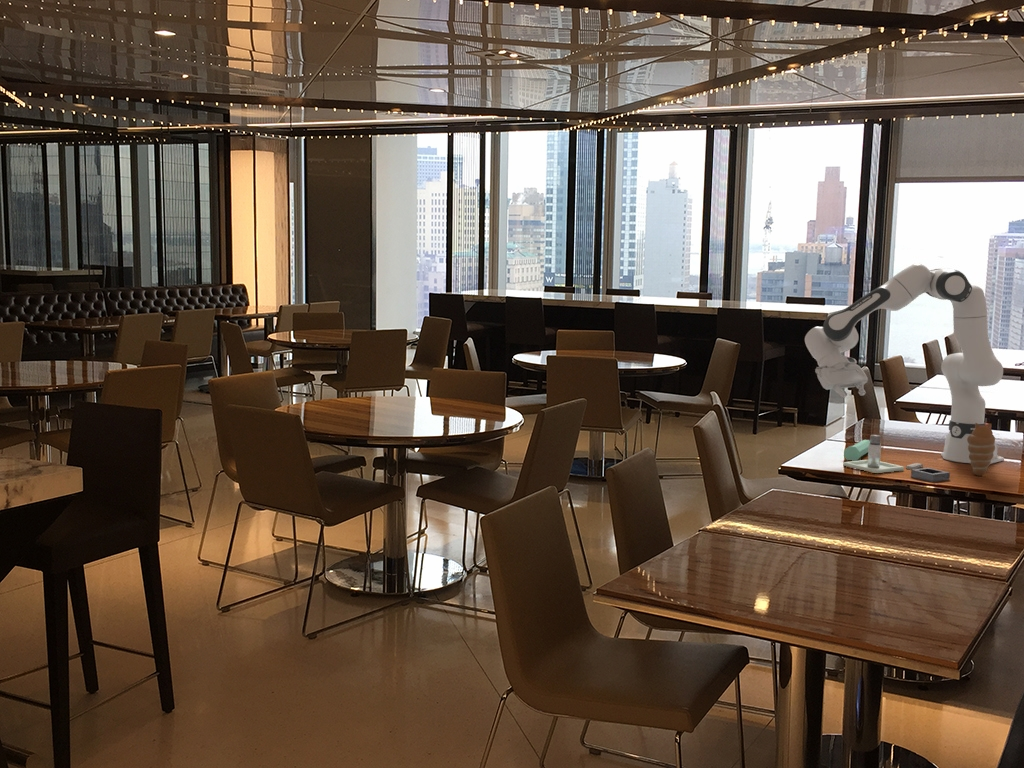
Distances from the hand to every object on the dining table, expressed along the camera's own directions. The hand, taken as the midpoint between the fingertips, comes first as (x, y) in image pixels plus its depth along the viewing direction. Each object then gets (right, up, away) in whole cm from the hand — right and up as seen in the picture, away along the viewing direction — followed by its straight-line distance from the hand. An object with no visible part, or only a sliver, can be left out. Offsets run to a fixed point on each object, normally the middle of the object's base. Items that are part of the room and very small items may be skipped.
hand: (854, 395), depth 343 cm
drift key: (+19, -26, -6) cm, 32 cm away
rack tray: (+3, -25, -9) cm, 27 cm away
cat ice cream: (+36, -27, -16) cm, 48 cm away
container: (+7, -23, +15) cm, 28 cm away
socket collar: (+17, -27, -23) cm, 39 cm away
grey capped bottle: (+3, -25, -9) cm, 27 cm away
